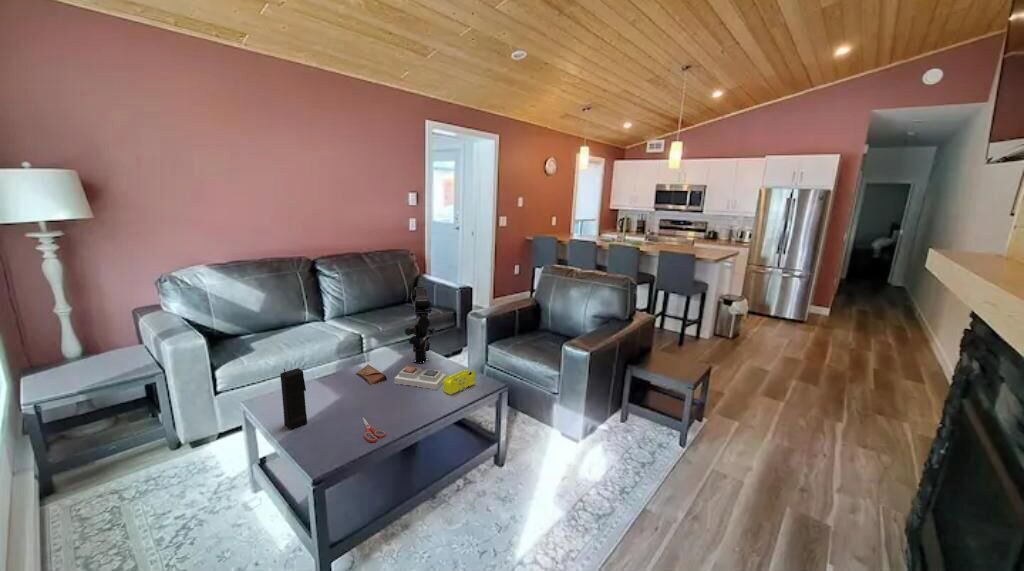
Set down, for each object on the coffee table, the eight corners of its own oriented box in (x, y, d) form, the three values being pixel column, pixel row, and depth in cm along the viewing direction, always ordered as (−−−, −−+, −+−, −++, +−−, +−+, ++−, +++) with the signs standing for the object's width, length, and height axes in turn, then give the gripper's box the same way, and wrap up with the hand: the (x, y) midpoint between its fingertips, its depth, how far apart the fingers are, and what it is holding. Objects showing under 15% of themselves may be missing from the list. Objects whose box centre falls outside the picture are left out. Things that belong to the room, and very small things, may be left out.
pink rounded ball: (408, 370, 210) (408, 365, 209) (416, 371, 209) (416, 366, 208) (404, 374, 205) (404, 368, 205) (412, 375, 204) (412, 370, 204)
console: (406, 373, 215) (405, 364, 214) (446, 379, 210) (446, 369, 209) (394, 383, 203) (394, 373, 202) (436, 390, 198) (436, 380, 197)
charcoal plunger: (428, 374, 207) (428, 369, 207) (437, 375, 206) (436, 370, 206) (424, 378, 203) (424, 373, 202) (433, 379, 202) (433, 374, 201)
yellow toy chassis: (450, 396, 193) (450, 380, 191) (442, 392, 197) (442, 376, 195) (475, 385, 205) (475, 369, 203) (467, 381, 209) (467, 366, 207)
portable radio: (303, 417, 172) (298, 360, 166) (310, 422, 168) (306, 364, 162) (283, 424, 166) (278, 366, 160) (290, 430, 162) (284, 371, 156)
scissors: (363, 415, 175) (363, 412, 175) (389, 437, 161) (389, 434, 161) (345, 422, 170) (345, 419, 169) (370, 445, 156) (370, 441, 155)
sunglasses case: (353, 373, 212) (359, 361, 213) (365, 376, 217) (370, 364, 219) (371, 385, 200) (377, 372, 201) (383, 388, 205) (388, 375, 207)
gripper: (416, 315, 220) (416, 343, 224) (398, 326, 202) (399, 356, 206) (435, 317, 218) (435, 345, 221) (419, 328, 200) (420, 359, 204)
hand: (422, 351), depth 213 cm, fingers closed
